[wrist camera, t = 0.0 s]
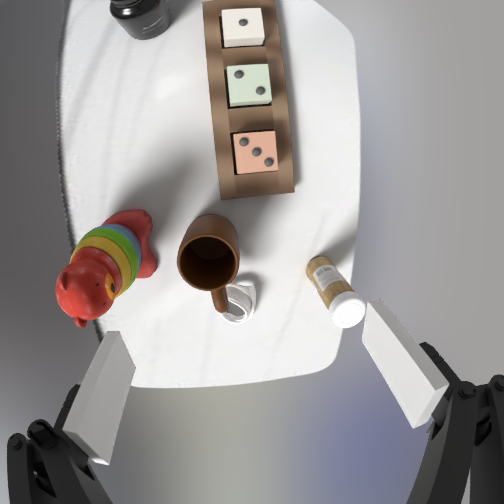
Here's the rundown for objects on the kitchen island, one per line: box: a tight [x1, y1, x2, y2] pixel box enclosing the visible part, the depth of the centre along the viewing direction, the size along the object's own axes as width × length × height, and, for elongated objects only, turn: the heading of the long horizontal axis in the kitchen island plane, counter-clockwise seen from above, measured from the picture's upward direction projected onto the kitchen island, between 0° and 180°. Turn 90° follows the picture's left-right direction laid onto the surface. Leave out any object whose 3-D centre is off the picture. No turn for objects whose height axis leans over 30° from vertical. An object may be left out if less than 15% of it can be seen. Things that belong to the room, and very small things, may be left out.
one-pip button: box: [222, 8, 265, 47], centre depth 27 cm, size 5×5×3 cm
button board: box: [202, 0, 295, 200], centre depth 32 cm, size 30×10×2 cm, turn 5°
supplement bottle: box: [110, 0, 171, 40], centre depth 22 cm, size 7×7×12 cm
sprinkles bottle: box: [306, 257, 366, 328], centre depth 38 cm, size 5×5×13 cm
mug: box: [177, 214, 240, 313], centre depth 37 cm, size 12×8×9 cm, turn 10°
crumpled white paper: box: [217, 283, 256, 324], centre depth 43 cm, size 8×7×5 cm
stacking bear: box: [56, 210, 156, 328], centre depth 31 cm, size 11×10×18 cm
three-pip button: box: [233, 131, 278, 174], centre depth 33 cm, size 5×5×3 cm
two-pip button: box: [227, 64, 272, 107], centre depth 30 cm, size 5×5×3 cm
